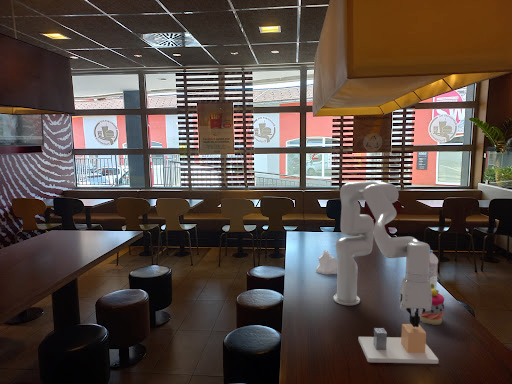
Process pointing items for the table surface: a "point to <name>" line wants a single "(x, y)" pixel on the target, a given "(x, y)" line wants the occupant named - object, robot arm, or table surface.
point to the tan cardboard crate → (413, 338)
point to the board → (395, 352)
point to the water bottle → (433, 269)
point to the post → (380, 339)
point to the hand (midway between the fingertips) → (414, 325)
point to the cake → (434, 309)
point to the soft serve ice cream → (327, 264)
